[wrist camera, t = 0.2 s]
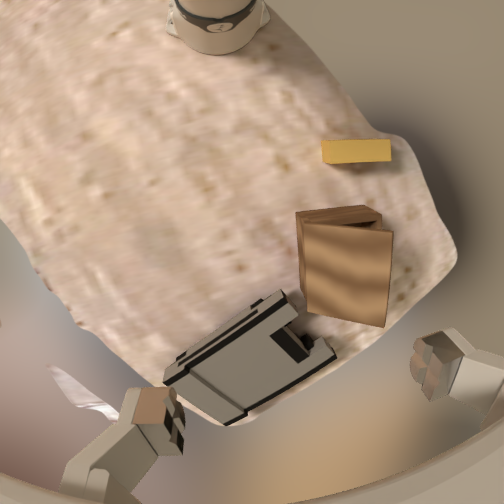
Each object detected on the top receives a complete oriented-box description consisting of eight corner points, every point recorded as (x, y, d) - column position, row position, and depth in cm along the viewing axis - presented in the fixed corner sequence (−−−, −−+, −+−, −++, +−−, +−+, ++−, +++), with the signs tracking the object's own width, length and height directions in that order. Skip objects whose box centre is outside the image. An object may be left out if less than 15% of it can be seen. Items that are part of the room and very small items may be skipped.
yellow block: (320, 140, 52) (329, 140, 47) (377, 138, 52) (390, 139, 48) (322, 161, 53) (331, 163, 49) (378, 158, 54) (391, 161, 49)
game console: (328, 339, 68) (339, 361, 60) (225, 403, 73) (226, 426, 65) (277, 280, 61) (284, 300, 54) (167, 358, 66) (162, 382, 59)
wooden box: (295, 212, 56) (305, 223, 49) (363, 204, 57) (381, 214, 49) (300, 288, 62) (309, 307, 54) (362, 277, 62) (377, 294, 55)
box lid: (306, 222, 49) (303, 224, 48) (393, 230, 40) (392, 233, 40) (309, 308, 54) (307, 311, 54) (385, 324, 46) (383, 328, 45)
